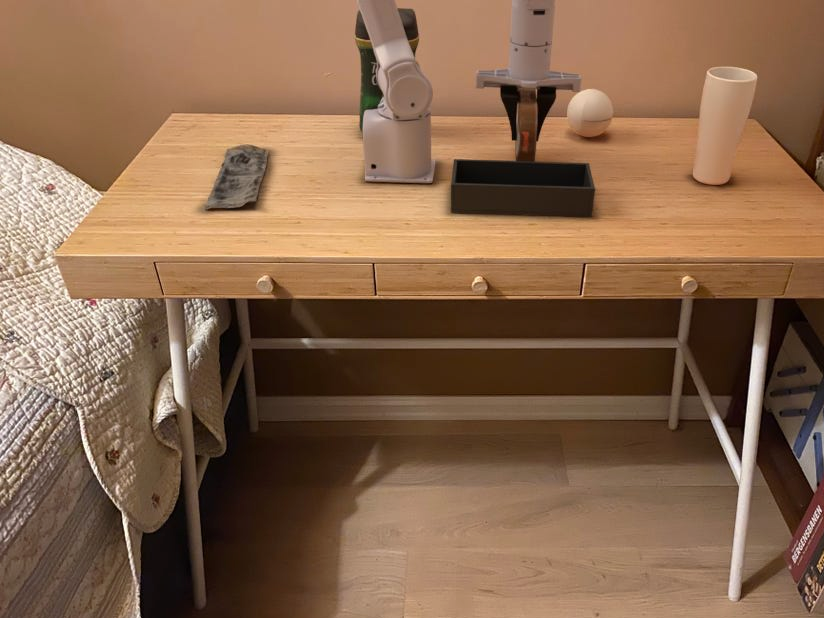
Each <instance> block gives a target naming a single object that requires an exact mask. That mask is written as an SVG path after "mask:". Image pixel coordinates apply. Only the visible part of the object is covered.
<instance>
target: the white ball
mask: <svg viewBox="0 0 824 618" xmlns="http://www.w3.org/2000/svg"><path fill="white" fill-rule="evenodd" d="M624 111H625V112H626V109H624V110H623V109H622V110H620V112H624ZM617 112H618V110H614V107H613V104H612V101H611V99H610V97H608V95H607V94H606V93H604V92H603V91H601V90H599V89H596V88H587V89H583V90H580V92H576V94H574V96H572V98H571V100H570V101H569V102H568V105H567V109H566V118H567V122H568V124H569V127H570V128H571V129H572V130H573V131H574V132H575V134H577V135H579V136H582V137H584V138H593V137H598V136H601V134H603V133H605V132H606V131H607V129H608V128H609V127H610V125H611V124H612V121H613V117H614V113H617Z"/></svg>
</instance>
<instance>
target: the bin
mask: <svg viewBox="0 0 824 618" xmlns="http://www.w3.org/2000/svg"><path fill="white" fill-rule="evenodd" d="M450 180H451V181H450V213H451V214H478V215H507V216H508V215H511V216H538V217H539V216H541V217H543V216H544V217H545V216H546V217H574V218H575V217H577V218H578V217H579V218H593V211H594V204H595V194H596V187H595V181H594V178H593V173H592V169H591V166H590V163H589V162H570V161H569V162H568V161H563V162H562V161H536V160H535V161H516V160H500V159H499V160H497V159H468V158H467V159H466V158H465V159H464V158H453V163H452V172H451V179H450Z"/></svg>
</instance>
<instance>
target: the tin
mask: <svg viewBox="0 0 824 618" xmlns="http://www.w3.org/2000/svg"><path fill="white" fill-rule="evenodd" d="M537 142H538V141H537V89H523V88H518V105H517V141H514V146H515V147H514V148H515V149H514V153H515V161H536V153H537Z"/></svg>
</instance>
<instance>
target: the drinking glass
mask: <svg viewBox="0 0 824 618" xmlns="http://www.w3.org/2000/svg"><path fill="white" fill-rule="evenodd" d="M757 82H758V75H757V73H755V72H754V71H751V70H749V69H746V68H742V67H736V66H716V67H715V66H714V67H711V68H709V69H708V70H707V71H706V75H705V79H704V83H703V88H702V93H701V99H700V106H699V107H700V108H699V114H698V124H697V133H696V134H697V135H696V142H695V144H696V145H695V152H694V153H695V154H694V160H693V161H694V162H693V167H692V171H691V172H692V177H693V178H694V179H695V180H696V181H697V182H699V183H701V184H705V185H709V186H718V185H719V186H720V185H724V184H726V183H728V182H729V180H730V179H731V175H732V171H733V166H734V163H735V160H736V157H737V154H738V150H739V147H740V144H741V141H742V138H743V135H744V131H745V130H746V129H745V128H746V125H747V123H748V119H749V116H750V113H751V109H752V106H753V103H754V97H755V95H756V88H757V84H758V83H757Z"/></svg>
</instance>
